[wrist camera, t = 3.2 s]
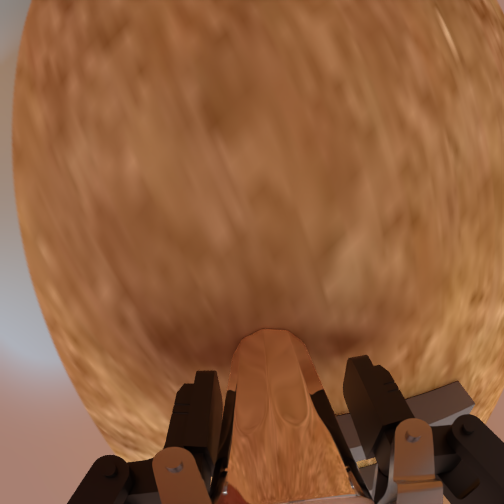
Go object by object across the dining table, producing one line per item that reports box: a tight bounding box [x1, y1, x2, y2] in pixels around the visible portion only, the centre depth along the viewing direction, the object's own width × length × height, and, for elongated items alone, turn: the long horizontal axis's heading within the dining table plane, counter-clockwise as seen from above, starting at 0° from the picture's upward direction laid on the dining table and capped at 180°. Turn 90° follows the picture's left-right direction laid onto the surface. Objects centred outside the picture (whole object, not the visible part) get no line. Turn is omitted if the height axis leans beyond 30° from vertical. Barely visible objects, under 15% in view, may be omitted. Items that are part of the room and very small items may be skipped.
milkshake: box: [209, 329, 375, 504], centre depth 7 cm, size 4×5×10 cm
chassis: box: [336, 381, 475, 496], centre depth 14 cm, size 11×13×3 cm
